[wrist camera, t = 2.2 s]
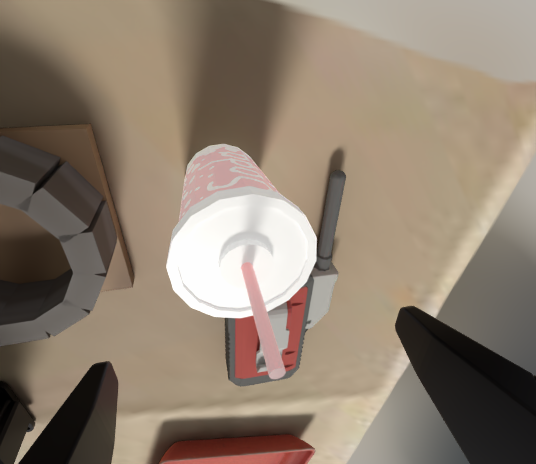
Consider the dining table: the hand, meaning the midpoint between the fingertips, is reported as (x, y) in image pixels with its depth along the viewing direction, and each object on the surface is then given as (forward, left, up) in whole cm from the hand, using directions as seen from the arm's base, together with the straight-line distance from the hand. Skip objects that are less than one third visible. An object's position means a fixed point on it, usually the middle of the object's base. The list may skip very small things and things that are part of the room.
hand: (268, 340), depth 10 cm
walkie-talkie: (+4, -9, -13) cm, 17 cm away
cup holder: (-12, -1, -13) cm, 18 cm away
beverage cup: (0, 0, -13) cm, 13 cm away
